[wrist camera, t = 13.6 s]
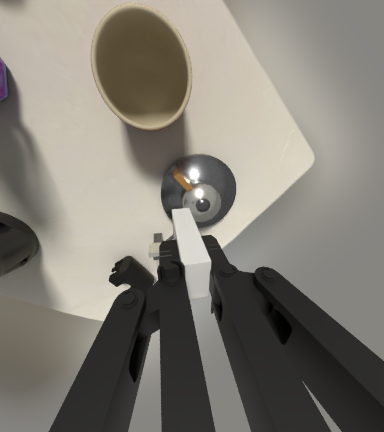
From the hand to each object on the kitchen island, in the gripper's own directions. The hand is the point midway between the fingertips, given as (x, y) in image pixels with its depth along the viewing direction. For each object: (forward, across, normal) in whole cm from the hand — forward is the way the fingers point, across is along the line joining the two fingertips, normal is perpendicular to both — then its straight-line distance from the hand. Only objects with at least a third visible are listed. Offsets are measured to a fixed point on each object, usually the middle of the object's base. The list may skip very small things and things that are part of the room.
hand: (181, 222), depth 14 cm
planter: (+26, -2, +13) cm, 29 cm away
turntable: (+25, +7, -7) cm, 27 cm away
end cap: (+26, -12, -29) cm, 41 cm away
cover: (+23, +7, -7) cm, 25 cm away
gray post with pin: (+26, -2, -17) cm, 31 cm away
